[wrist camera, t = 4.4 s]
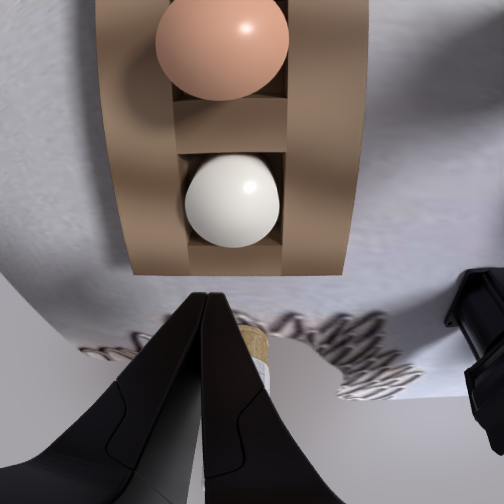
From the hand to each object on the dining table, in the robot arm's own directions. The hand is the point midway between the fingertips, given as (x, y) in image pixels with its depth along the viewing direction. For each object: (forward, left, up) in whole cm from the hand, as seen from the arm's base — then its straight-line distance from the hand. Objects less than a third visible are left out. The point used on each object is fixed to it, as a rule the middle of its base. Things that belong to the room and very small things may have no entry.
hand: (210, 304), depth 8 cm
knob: (-1, 0, -11) cm, 11 cm away
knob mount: (+7, 0, -12) cm, 14 cm away
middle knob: (+7, 0, -8) cm, 10 cm away
